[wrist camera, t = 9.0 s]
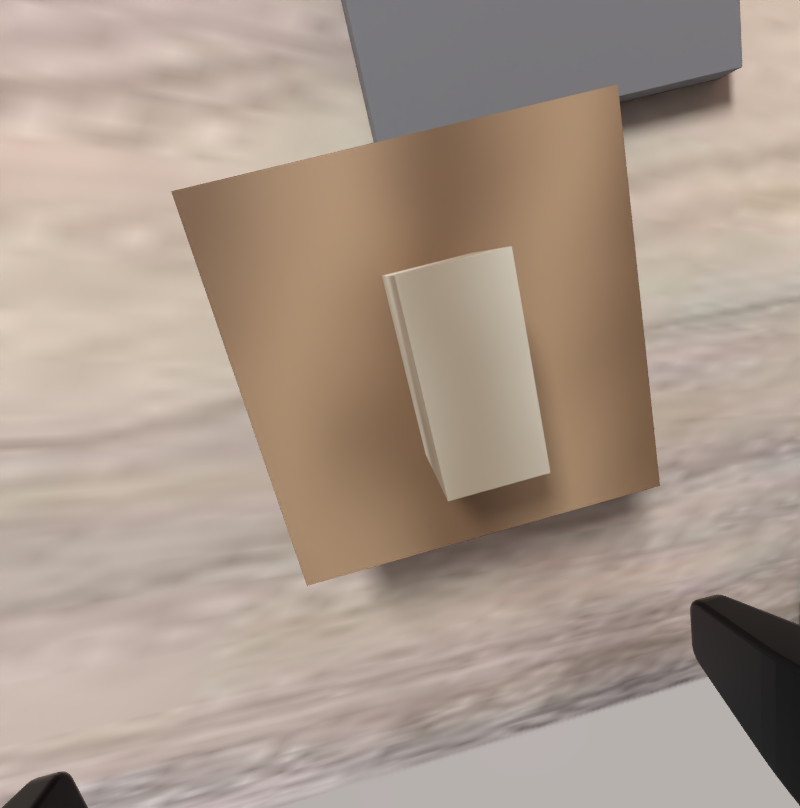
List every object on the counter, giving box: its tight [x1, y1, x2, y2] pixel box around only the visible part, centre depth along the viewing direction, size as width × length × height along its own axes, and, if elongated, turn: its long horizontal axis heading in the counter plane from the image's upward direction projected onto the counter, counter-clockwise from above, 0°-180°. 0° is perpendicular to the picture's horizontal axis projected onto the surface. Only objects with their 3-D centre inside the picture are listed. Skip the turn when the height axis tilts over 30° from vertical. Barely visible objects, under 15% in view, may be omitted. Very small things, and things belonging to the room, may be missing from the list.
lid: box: [171, 84, 660, 586], centre depth 12 cm, size 11×11×4 cm
